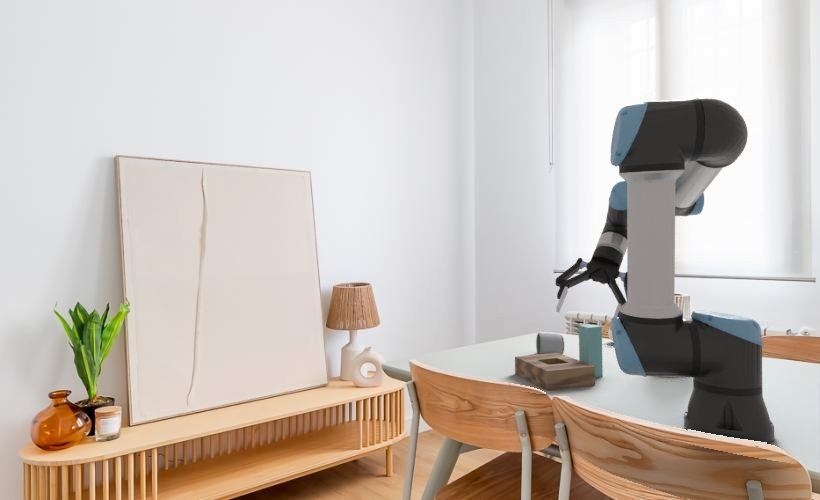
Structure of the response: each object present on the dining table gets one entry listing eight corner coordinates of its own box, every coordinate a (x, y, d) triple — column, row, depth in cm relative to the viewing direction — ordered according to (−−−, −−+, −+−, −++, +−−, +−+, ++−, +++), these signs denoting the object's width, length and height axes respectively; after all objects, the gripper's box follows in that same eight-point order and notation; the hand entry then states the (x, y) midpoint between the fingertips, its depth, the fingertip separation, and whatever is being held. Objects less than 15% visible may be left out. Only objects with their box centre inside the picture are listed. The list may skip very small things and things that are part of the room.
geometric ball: (613, 350, 192) (600, 331, 195) (630, 341, 194) (616, 323, 197) (622, 343, 185) (608, 324, 188) (639, 334, 187) (625, 315, 191)
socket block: (595, 385, 137) (594, 366, 137) (547, 390, 133) (547, 371, 133) (558, 369, 154) (557, 352, 154) (515, 373, 150) (514, 356, 150)
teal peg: (602, 376, 145) (601, 326, 145) (588, 378, 144) (587, 327, 144) (593, 373, 149) (592, 324, 149) (579, 374, 148) (578, 325, 148)
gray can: (565, 357, 170) (565, 334, 170) (540, 358, 170) (539, 334, 170) (557, 351, 180) (557, 329, 180) (533, 352, 180) (533, 329, 181)
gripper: (655, 274, 139) (633, 342, 130) (563, 248, 149) (537, 309, 140) (660, 258, 132) (637, 328, 123) (564, 232, 143) (536, 295, 134)
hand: (584, 318), depth 132 cm, fingers open, 13 cm apart
